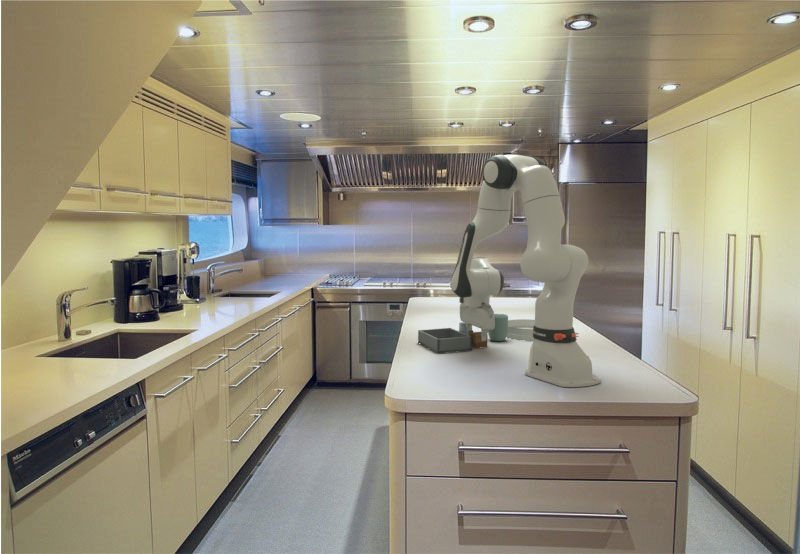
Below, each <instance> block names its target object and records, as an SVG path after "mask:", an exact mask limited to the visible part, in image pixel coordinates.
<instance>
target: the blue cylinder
mask: <svg viewBox="0 0 800 554" xmlns="http://www.w3.org/2000/svg"><path fill="white" fill-rule="evenodd" d="M458 331H459V332H462V333H464V334H467V328H466V323H465V322H463V321H461V322H459V323H458ZM467 335H468V334H467Z"/></svg>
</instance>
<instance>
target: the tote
mask: <svg viewBox="0 0 800 554" xmlns="http://www.w3.org/2000/svg"><path fill="white" fill-rule="evenodd" d="M417 333H418V334H417V337H418V338H417V340H418V343H417V344H419V343H420V344H419V345H421V346H423V347H424V346H425V348H426V347H427V349H428V348H429V350H430V351H432V352H434V353H436V354H437V353H438V354H445V353H446V352H449V353H457V352H456V351H459V352H467V351H466V350H470V351H472V350H473V347H472V336H469V335H467V334H464V333H462V332H459V330H456V329H454V328H451V327H443V328H432V329H431V328H430V329H420V330H417ZM446 354H447V353H446Z"/></svg>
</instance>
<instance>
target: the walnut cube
mask: <svg viewBox="0 0 800 554" xmlns="http://www.w3.org/2000/svg"><path fill="white" fill-rule="evenodd" d="M481 334H482V332H481V331H473V332H471V333H469V336H472V348H473V347H474V349H481V348H480V347H485V348H488V339H489V335H488V333H487V336H486V341H482V340H480V335H481Z"/></svg>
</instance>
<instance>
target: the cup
mask: <svg viewBox="0 0 800 554" xmlns="http://www.w3.org/2000/svg"><path fill="white" fill-rule="evenodd" d="M494 317H495V328H494V330H488V333H487V334H488V339H489V340H491V341H492V342H497V341H500V342H504V341H505V340H506V339H507V338H506V337H507V333H508V320H509V315H508V314H504V313H494Z"/></svg>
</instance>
